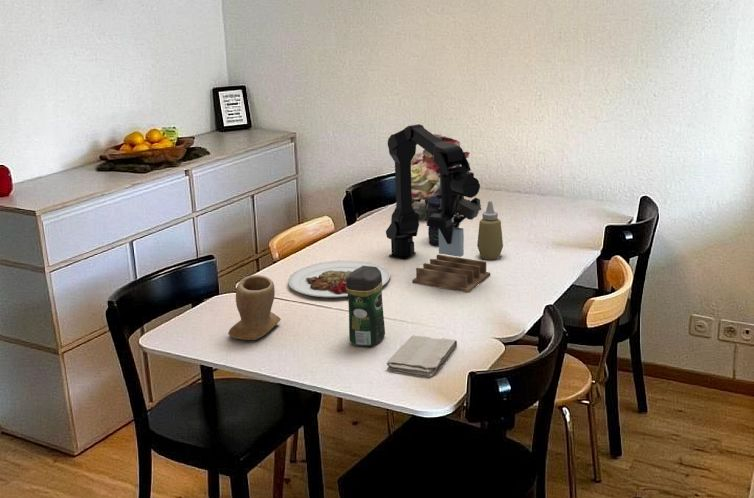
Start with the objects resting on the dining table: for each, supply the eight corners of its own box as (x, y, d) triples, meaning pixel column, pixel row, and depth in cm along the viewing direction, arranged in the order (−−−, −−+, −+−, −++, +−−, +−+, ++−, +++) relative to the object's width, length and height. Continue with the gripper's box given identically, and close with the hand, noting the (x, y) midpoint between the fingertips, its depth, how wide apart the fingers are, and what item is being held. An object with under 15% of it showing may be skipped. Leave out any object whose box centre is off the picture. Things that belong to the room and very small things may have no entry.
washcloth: (384, 373, 193) (384, 361, 192) (411, 341, 208) (411, 330, 207) (434, 380, 188) (433, 368, 187) (457, 347, 204) (457, 336, 203)
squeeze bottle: (502, 261, 260) (502, 205, 254) (476, 260, 262) (475, 205, 256) (503, 253, 267) (504, 198, 262) (478, 252, 269) (478, 198, 263)
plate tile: (438, 253, 246) (438, 227, 243) (442, 251, 247) (441, 225, 245) (460, 256, 242) (460, 230, 239) (463, 254, 244) (463, 228, 241)
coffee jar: (360, 330, 215) (356, 261, 209) (388, 334, 212) (386, 264, 206) (344, 345, 206) (340, 274, 201) (374, 349, 204) (371, 278, 198)
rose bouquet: (419, 201, 331) (417, 125, 322) (484, 210, 315) (484, 131, 305) (381, 217, 312) (378, 137, 302) (449, 228, 295) (447, 144, 286)
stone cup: (263, 346, 208) (258, 290, 203) (222, 340, 213) (216, 285, 208) (293, 323, 221) (288, 269, 216) (254, 318, 226) (249, 265, 221)
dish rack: (412, 283, 246) (411, 268, 244) (436, 267, 258) (435, 253, 256) (468, 292, 236) (468, 277, 235) (490, 275, 248) (490, 261, 247)
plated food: (342, 259, 269) (342, 249, 268) (411, 280, 248) (410, 269, 247) (267, 285, 249) (266, 275, 248) (335, 310, 229) (334, 299, 228)
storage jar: (443, 249, 274) (442, 205, 269) (422, 243, 281) (421, 199, 276) (464, 242, 280) (464, 198, 275) (443, 236, 287) (442, 193, 282)
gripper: (461, 201, 227) (462, 256, 232) (489, 185, 242) (489, 237, 247) (425, 197, 233) (426, 250, 238) (455, 181, 248) (455, 232, 253)
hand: (450, 242), depth 243 cm, fingers closed on plate tile, 2 cm apart
